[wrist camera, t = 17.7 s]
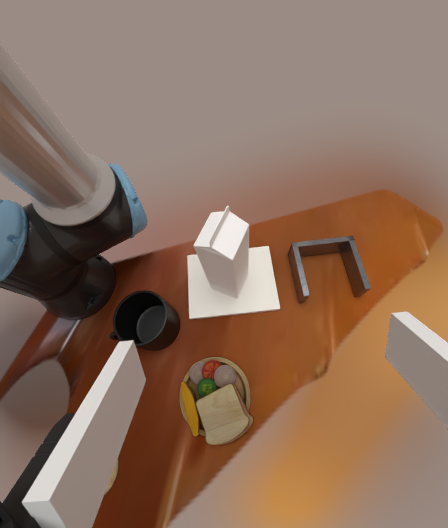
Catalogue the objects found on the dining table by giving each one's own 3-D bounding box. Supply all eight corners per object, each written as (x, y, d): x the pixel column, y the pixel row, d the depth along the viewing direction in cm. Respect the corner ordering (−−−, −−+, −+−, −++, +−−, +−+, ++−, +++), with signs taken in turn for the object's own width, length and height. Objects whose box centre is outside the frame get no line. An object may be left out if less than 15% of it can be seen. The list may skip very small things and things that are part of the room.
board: (190, 319, 50) (189, 318, 49) (188, 257, 55) (187, 255, 55) (279, 310, 49) (280, 308, 48) (268, 248, 55) (268, 245, 54)
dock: (298, 302, 49) (304, 295, 45) (288, 253, 54) (291, 242, 49) (359, 296, 49) (371, 288, 44) (343, 247, 53) (352, 235, 49)
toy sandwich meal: (236, 348, 47) (235, 345, 43) (263, 428, 41) (265, 434, 37) (174, 370, 46) (166, 369, 42) (192, 454, 41) (186, 463, 37)
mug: (118, 319, 51) (93, 308, 43) (172, 296, 52) (158, 281, 44) (128, 364, 47) (103, 362, 39) (186, 338, 48) (174, 331, 40)
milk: (211, 288, 51) (186, 234, 31) (222, 263, 53) (206, 197, 33) (238, 299, 50) (230, 249, 29) (249, 273, 52) (249, 210, 31)
